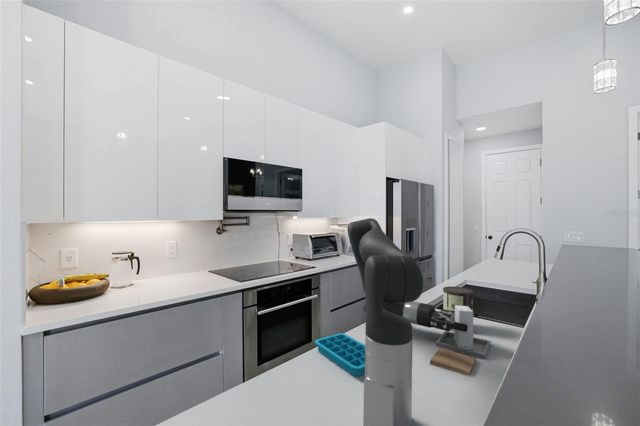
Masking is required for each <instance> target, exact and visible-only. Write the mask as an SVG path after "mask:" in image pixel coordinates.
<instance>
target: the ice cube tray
mask: <svg viewBox="0 0 640 426" xmlns="http://www.w3.org/2000/svg"><path fill="white" fill-rule="evenodd" d="M314 344H315V345H317V352H319V353H320V354H321V355H323V356H324V357H326V358H327V359H328V360H330V361H332V362H333V363H334V364H336V365H337V366H338V367H340V368H341V369H342V370H344V371H345V372H347V373H348V372H349V373H348V374H350V375H351V374H352V375H351V376H353V375H354V376H353V377H355V376H357V378H359V377H361V375H362V376H365V344H364V343H362V342H360V341H359V340H357V339H355V338H353V337H352V336H350V335H347V334H346V333H343V332H342V333H336V334H333V335H327V336H326V337H321V338H318V339H315V340H314Z"/></svg>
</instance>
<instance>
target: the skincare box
mask: <svg viewBox="0 0 640 426" xmlns="http://www.w3.org/2000/svg"><path fill="white" fill-rule="evenodd" d="M455 322H458V323H463V324H467V325H468V331H467V332H463V331H459V330H455V331H454V333H455V334H454V337H453V338H454V339H453V341H454V343H455V344H456V347H460V348H464V349H468V350H472V351H474V342H473V337H474V310H473V311H472V310H471V309H470V308H469V307H468V306H458V305H455Z"/></svg>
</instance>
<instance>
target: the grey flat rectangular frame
mask: <svg viewBox="0 0 640 426" xmlns="http://www.w3.org/2000/svg"><path fill="white" fill-rule="evenodd" d="M454 334H455V332H454V331H445V330H443V332H442V334H441V335H440V337H438V339H437V340H436V341H435V347H438V348H442V349H446V350H449V351H453V352H457V353H461V354H464V355H468V356H472V357H476V358H480V359H483V360H486V359H487V356H488V353H489V350H490V348H491V345H492V341H491V340H487V339H483V338H479V337H474V336H473V343H478V344H481V345H485V347H484V349H483V352H479V351H476V350H469V349H464V348H460V347H458V346H457V345H452V344H448V343H444V340H445V339H446V337H447V336H448V337H453V338H454Z"/></svg>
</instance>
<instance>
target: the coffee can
mask: <svg viewBox="0 0 640 426" xmlns="http://www.w3.org/2000/svg"><path fill="white" fill-rule="evenodd" d="M442 292H443V295H442V297H443V300H442V301H443V304H442V305H443V306H442V307H443V308H442V309H446V310H451V311H455V305H458V306H468V307H469V308H470V309H471V310H472V311H473V312H474V308H473V306H474V305H473V304H474V290H472V289H470V288H466V287H461V286H444V287H442ZM454 317H455V316H454ZM454 322H455V321H454ZM451 332H455V330H451Z"/></svg>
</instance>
